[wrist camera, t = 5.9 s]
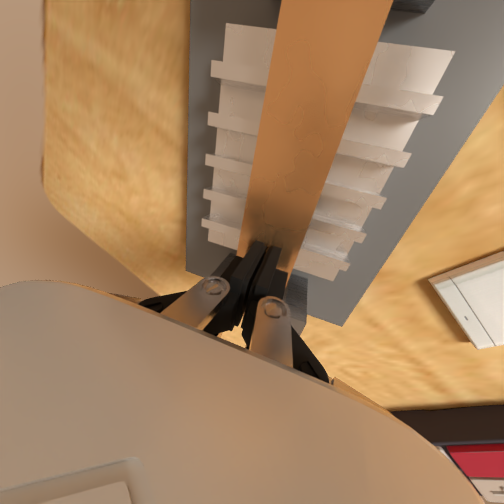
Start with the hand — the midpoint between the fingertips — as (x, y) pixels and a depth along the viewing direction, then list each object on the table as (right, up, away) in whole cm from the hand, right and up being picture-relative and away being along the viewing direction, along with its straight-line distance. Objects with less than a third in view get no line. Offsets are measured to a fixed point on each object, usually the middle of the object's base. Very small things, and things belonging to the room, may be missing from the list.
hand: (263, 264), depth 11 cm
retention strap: (+1, +5, -1) cm, 5 cm away
